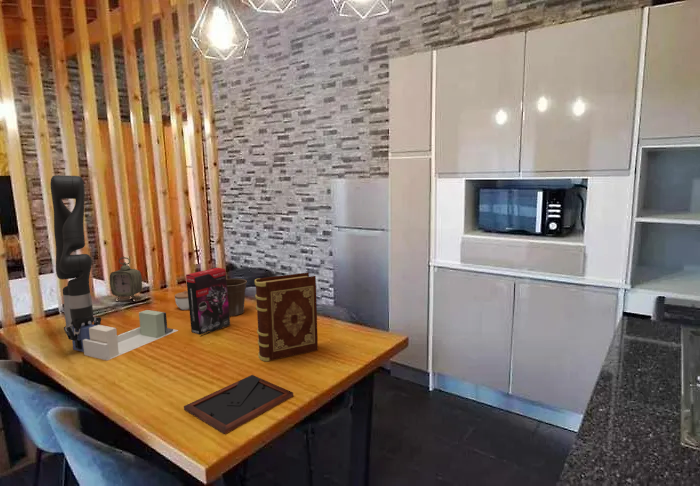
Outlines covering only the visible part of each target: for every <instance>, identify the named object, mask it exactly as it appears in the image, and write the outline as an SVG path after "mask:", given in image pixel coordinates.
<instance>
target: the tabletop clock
mask: <svg viewBox="0 0 700 486" xmlns="http://www.w3.org/2000/svg"><path fill="white" fill-rule="evenodd" d="M122 259H124V260H125V259H126V260H128V263H126V262H125V261H124V262H121V260H122ZM118 263H119V264H120V265H121V266H120V269H118V270H115V271H112V272H110V274H109V286H110V291H111V294H112V295H113V296H115V297H117V298H118V297H119V298H120V297H122V298H123V297H130V296H131V297H132V298H133V297H134V298H135V295H136V294H139V293H141V292H142V290H143V278H142V273H141V270H138V269H135V268H131V267H130V266H129V264H131V260H130V258H129V257H124V256H123V257H120V258H119V259H118Z"/></svg>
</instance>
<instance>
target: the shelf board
mask: <svg viewBox="0 0 700 486" xmlns="http://www.w3.org/2000/svg"><path fill="white" fill-rule="evenodd" d="M172 329H173V331H170V332H168V333H165V335H164V336H161V337H159V338H155V337H150V336H145V335H141V330H140V326H139V327H136V328H133V329H131V330H129V331H126V332H122V333H120V334H118V335H117V341H118V350H119V354H118V355H116V356H114V357H111V358H110V354H109V345H108V344H107V343H102V342H97V341H93V340H88V339H84V340H83V348H84V352H83V354H84V356H85V357H86V356H87V357H90V358H95V359H99V360H103V361H109V360H112V359H114V358H116V357H119V356H121V355H124V354H125V353H129V352H130V351H133V350H135V349H138V348H140V347H142V346H145V345H147V344H151V343H152V342H154V341H157V340H160V339H161V338H165V337H166V336H169V335H171V334H173V333H176V332H178V331H179V330H178V329H174V328H172Z"/></svg>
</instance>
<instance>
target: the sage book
mask: <svg viewBox="0 0 700 486" xmlns="http://www.w3.org/2000/svg"><path fill="white" fill-rule="evenodd" d="M151 310H152V309H151ZM151 310H149V309H146V310H142V311H139V312H138V318H139V327H140V330H141V335H145V336H150V337H155V338H159V337H161V336H164V335H165V326H164V314H163V312H164V311H158V310H152V311H151ZM157 311H158V312H157ZM164 337H165V336H164ZM159 339H160V338H159Z"/></svg>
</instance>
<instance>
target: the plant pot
mask: <svg viewBox="0 0 700 486" xmlns="http://www.w3.org/2000/svg"><path fill="white" fill-rule="evenodd" d="M226 281H227V293H228V305H229V316H230V317H233V316H235V317H236V316H239V315H242V314H244V313H245V302H246V301H245V299H246V298H245V295H246V288H247V284H248V281H247V280H246V279H244V278H226Z"/></svg>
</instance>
